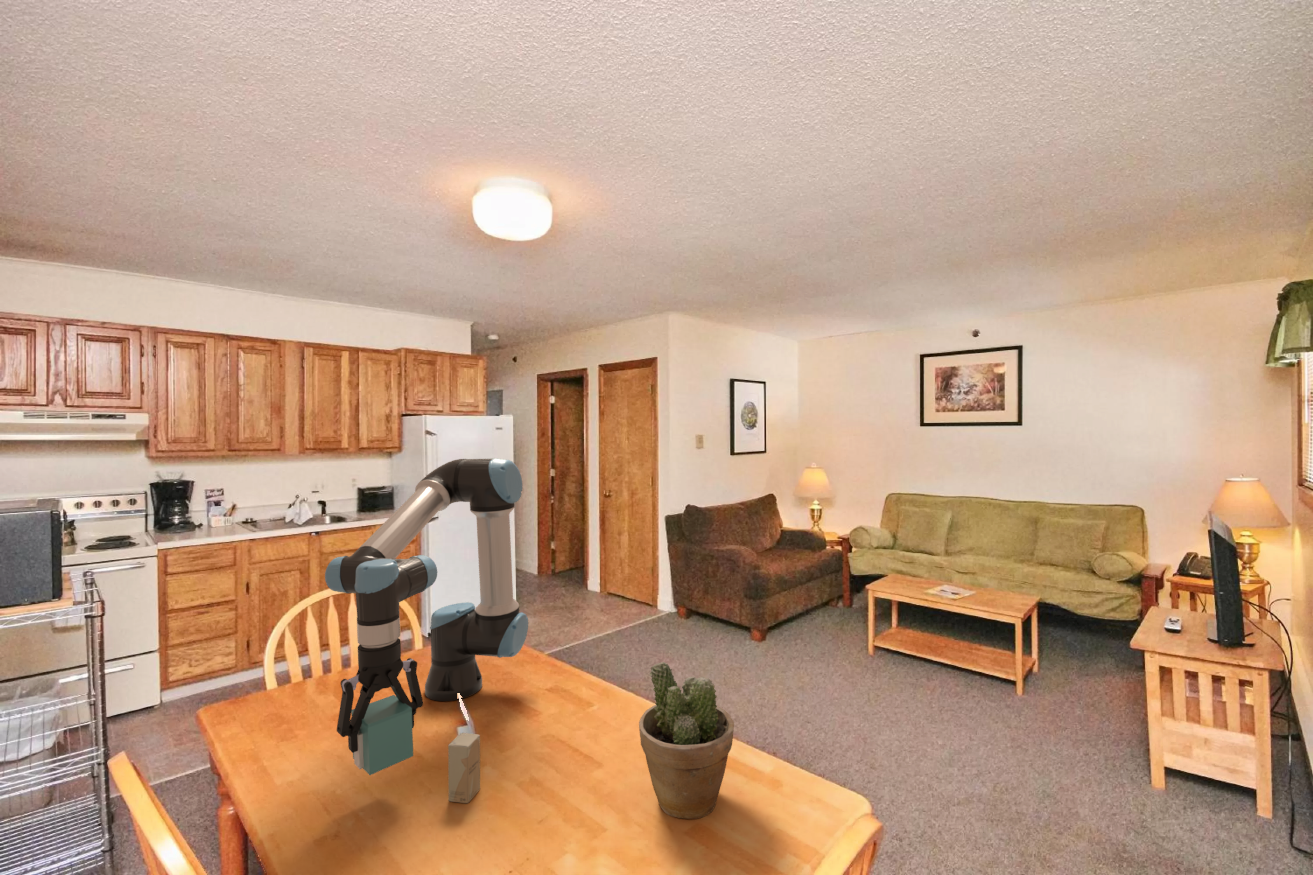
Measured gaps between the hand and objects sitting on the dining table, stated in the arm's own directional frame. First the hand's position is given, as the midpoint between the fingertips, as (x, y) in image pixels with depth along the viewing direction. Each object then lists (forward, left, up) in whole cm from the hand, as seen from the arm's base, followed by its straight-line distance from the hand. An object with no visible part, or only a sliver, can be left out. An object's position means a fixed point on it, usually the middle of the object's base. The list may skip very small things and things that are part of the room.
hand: (383, 755), depth 114 cm
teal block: (0, 0, 0) cm, 0 cm away
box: (-11, +10, -9) cm, 18 cm away
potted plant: (-39, +44, -9) cm, 60 cm away
